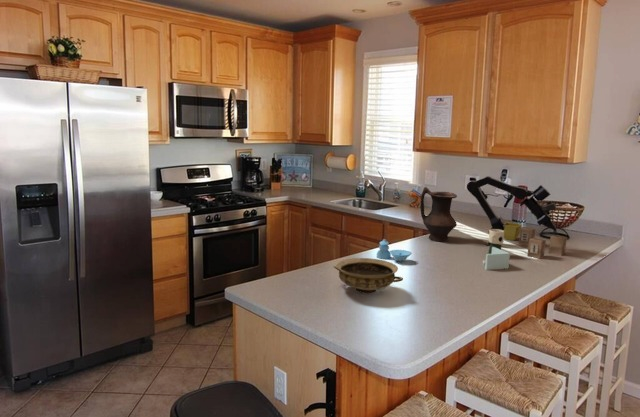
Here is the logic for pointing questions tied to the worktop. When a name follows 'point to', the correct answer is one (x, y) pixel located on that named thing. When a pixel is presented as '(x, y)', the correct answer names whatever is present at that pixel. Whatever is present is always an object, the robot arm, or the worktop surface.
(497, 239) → the character mug
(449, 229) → the jug
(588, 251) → the worktop surface
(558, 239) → the plain block
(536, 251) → the numbered block
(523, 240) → the numbered block
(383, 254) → the blue jar and dish
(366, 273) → the ceramic bowl
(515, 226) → the flower pot
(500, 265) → the l-shaped corner panel
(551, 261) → the worktop surface
